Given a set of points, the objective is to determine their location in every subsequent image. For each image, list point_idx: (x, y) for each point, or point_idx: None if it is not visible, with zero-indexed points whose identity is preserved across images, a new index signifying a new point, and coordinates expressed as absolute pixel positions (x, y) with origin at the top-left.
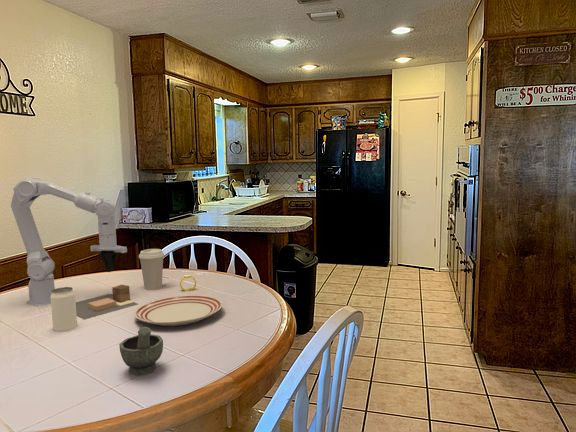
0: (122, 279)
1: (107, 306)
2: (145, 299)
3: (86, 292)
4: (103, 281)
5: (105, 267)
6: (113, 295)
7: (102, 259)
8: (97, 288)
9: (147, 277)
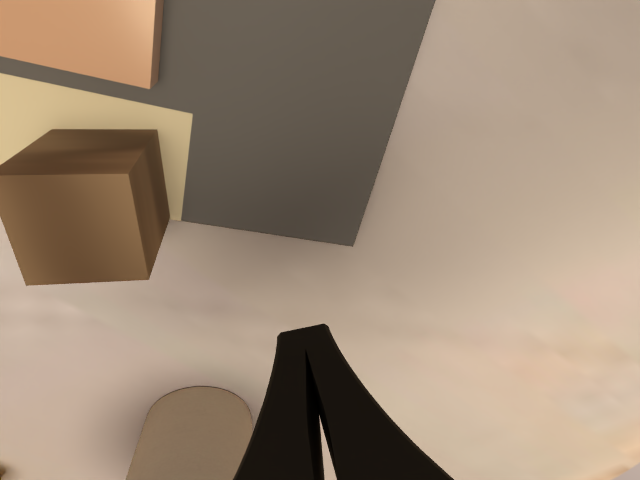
0: (503, 427)
1: None
2: (11, 282)
3: (553, 201)
4: (585, 370)
5: (337, 358)
6: (134, 145)
7: (402, 464)
8: (535, 284)
9: (162, 471)
